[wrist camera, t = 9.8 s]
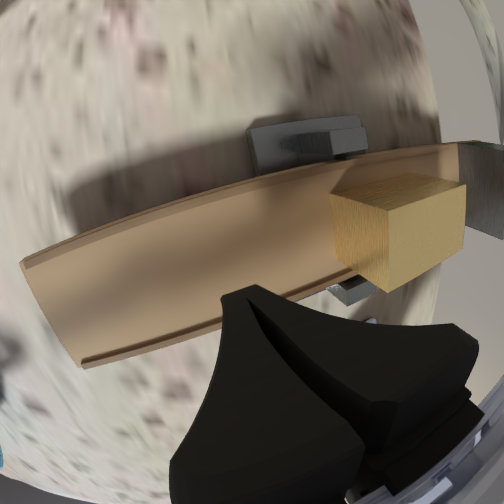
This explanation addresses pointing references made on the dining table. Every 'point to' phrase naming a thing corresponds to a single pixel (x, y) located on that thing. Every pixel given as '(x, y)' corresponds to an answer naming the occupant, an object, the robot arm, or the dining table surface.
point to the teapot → (1, 458)
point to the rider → (398, 226)
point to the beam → (228, 249)
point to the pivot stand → (306, 153)
